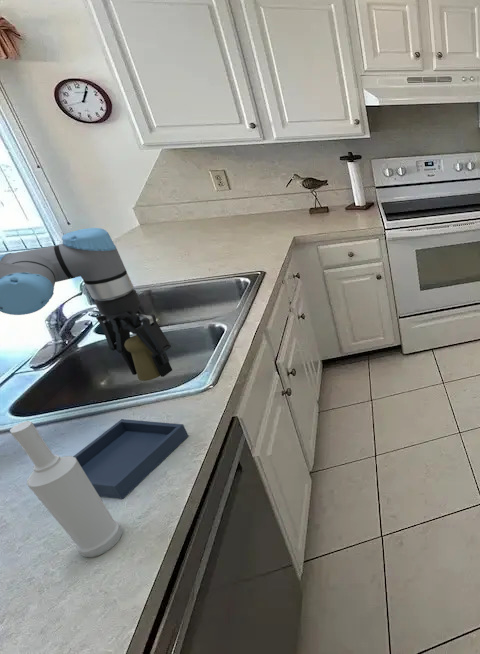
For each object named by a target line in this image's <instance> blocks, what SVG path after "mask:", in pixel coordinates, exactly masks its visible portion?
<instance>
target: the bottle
mask: <svg viewBox="0 0 480 654" xmlns="http://www.w3.org/2000/svg"><path fill="white" fill-rule="evenodd" d="M9 433H10V434H11V435H12V437H13V438H14V439H15V441H16V442H17V443H18V444H19V445H20V447H21V448H22V449H23V451H24V452H25V453H26V455H27V456H28V458H29V460H31V462H32V463H33V464H34V465H33V468H32V470H33V471H32V472H31V473H30V475H29V476H28V478H27V479H26V485H27V487H28V488H29V489H30V491H32V492H33V494H34V495H35V496H36V498H37V499H38V500H39V501H40V503H42V505H43V506H44V507H45V508H46V509H47V511H48V512H49V513H50V514H51V516H52V517H53V518H54V520H56V522H57V523H58V524H59V526H61V528H62V529H63V530H64V531H65V532H66V534H67V535H68V536H69V537H70V539H71V540H72V542H74V544H75V546H76V547H75V548H76V550H77V552H78V553H79V554H80V555H82V556H84V557H85V558H95V557H98V556H100V555H103V554H104V553H106V552H108V551H109V550H111V549H112V548H113V547H114V546H115V545H116V544H117V543H118V542H119V540H120V539H121V537H122V534H123V531H122V526H121V524H120V522H119V521H118V520H115V519H114V518H113V516H112V515H111V513H110V511H109V509H108V508H107V507H106V505H105V503H104V502H103V500H102V498H101V496H99V495H98V493H97V492H96V490H95V488H94V487H93V485H92V484H91V482H90V480H89V479H88V477H87V475H86V474H85V472H84V471H83V469H82V467H81V466H80V464H79V462H78V461H77V459H76V458H75V457H73V456H74V455H73V456H72V455H67V456H64V455H63V456H60V455H58V454H54V453H53V452H52V450H51V449H50V448H49V446H48V445H47V443H46V442H45V440H44V439H43V437H42V436H41V434H40V433H39V431H38V429H37V427H35V425H34V424H33V422H32V421H31V420H26V421H22V422H20V423H18V424H15V425H13V426H12V427H11V428H10V429H9Z"/></svg>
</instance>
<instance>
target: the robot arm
mask: <svg viewBox="0 0 480 654" xmlns="http://www.w3.org/2000/svg"><path fill="white" fill-rule="evenodd" d="M61 240H62V243H59V244H56V245H51V246H45V247H40V248H35V249H34V248H33V249H29V250H24V251H17V252H8V253H4V254H2V255H0V313H2V314H6V315H10V316H11V315H12V316H24V315H25V316H26V315H30V314H33V313H36V312H38V311H40V310H41V309H43V308H44V307H45V306H46V305H47V304H48V303H49V302H50V300H51V299H52V297H53V295H54V290H55V284H56V283H59V282H63V281H67V280H71V279H72V280H73V279H76V278H79V277H81V279H82V281H83V283H84V286H85V287H86V289H87V292H88V294H89V295H90V297H91V298H92V299H94V304H95V306H96V308H97V310H98V312H99V314H100V315H97V316H96V317H95V318H96V321H97V322H98V323H99V325H100V326H101V329H102V331H103V334H104V337H105V339H106V342H107V345H108V348H109V349H110V350H111V351H112V352H113V351H114V352H115V351H117V352H118V353H119V354H121V356H122V358H123V360H124V361H125V363H126V365H127V367H128V368H129V371H130V372H131V374H132V375H134V376H137V372H136V369H135V365H134V362H133V358H132V354H131V352H128V351H127V350H126V348H125V345H124V344H125V341H126V340H127V339H129V338H130V337H131V335H137V336H138V337H139V338H140V339H141V340H142V342H143V343H144V344H145V345H146V346H147V347H148V348H149V349H150V351H151V352H152V353H153V355H151V357H152V359H153V361H154V363H155V365H156V367H157V369H158V371H159V373H160V376H159V377H161V378H164V377H166V376H167V375H168V374H169V373H171V372H172V371H173V368H172V366H171V363H170V359H169V357H168V355H167V351H168V350H170V349H171V348H172V345H171V343H170V342H169V340H168V339H167V337H166V335H165V334H164V332H163V330H162V328H161V327H160V325H159V323H158V321H157V317H156V315H155V314H153V313H151V314H149V315H146V314H144V313H143V311H141V309H140V308H139V307H140V305H141V303H142V301H141V299H140V297H139V294H138V292H137V290H136V289H134V288H135V287H134V284H133V282H132V280H131V277H130V276H129V274H128V271H127V268H126V267H125V264H124V262H123V260H122V258H121V255H120V253H119V251H118V248H117V246H116V244H115V243H114V241H113V239H112V237H111V235H110V234H109V232H108V231H107V230H106V229H104V228H101V227H88V228H82V229H78V230H73V231H69V232H67V233H65V234H63V235H62V236H61Z"/></svg>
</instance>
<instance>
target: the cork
mask: <svg viewBox="0 0 480 654" xmlns="http://www.w3.org/2000/svg"><path fill="white" fill-rule="evenodd" d="M124 345H125V348H126V350H127V351H128V352H131V354H132V358H133V362H134V365H135V369H136V372H137V374H136V376H137V379H138V380H139V381H141V382H142V381H143V382H147V381H151V380H154V379H157V378H159V377H161V376H160V373H159V371H158V369H157V367H156V365H155V363H154V361H153V359H152V357H151V355H153V353H152V352H151V351H150V349H149V348H148V347H147V346H146V345H145V344H144V343H143V342H142V340H141V339H140V338H139V337H138V336H137V335H136V334H134V335H132V336H130V338H129V339H127V340H126V341H125V344H124Z"/></svg>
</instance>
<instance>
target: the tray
mask: <svg viewBox="0 0 480 654" xmlns="http://www.w3.org/2000/svg"><path fill="white" fill-rule="evenodd" d="M188 437H189V433H188V431H187V430H186V427H185V425H184V424H183V423H172V422H171V423H169V422H161V421H160V422H159V421H147V420H139V419H138V420H137V419H136V420H135V419H125V418H121V419H119V420H118V421H117V422H115V423H114V424H113V425H112V426H110V427H109V428H108V429H107V430H106V431H103V433H101V434H100V435H99V436H97V438H95V439H94V440H92V441H91V442H90V443H88V444H87V445H86V446H85V447H83V448H82V449H81V450H79V451H78V452H77V453H75V454H74V455H73V457H75V458H76V459H77V461H78V462H79V464H80V466H81V467H82V469H83V471H84V472H85V474H86V475H87V477H88V479H89V480H90V482H91V484H92V485H93V487H94V488H95V490H96V492H97V493H98V495H99V497H103V498H111V499H119V500H123V499H124V498H125V497H127V496H128V494H130V493H131V492H132V491H133V490H134V489H135V488H136V487H137V486H138V485H140V483H141V482H142V481H143V480H144V479H145V478H146V477H147V476H148V475H150V474H151V473H152V472H153V471H154V470H155V469H156V468H157V467H158V466H159V465H161V463H162V462H163V461H165V459H166V458H167V457H169V455H170V454H172V453H173V452H174V451H175V450H176V449H177V448H178V447H179V446H180V445H181V444H182V443H183V442H184V441H185V440H186V439H187V438H188Z"/></svg>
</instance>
